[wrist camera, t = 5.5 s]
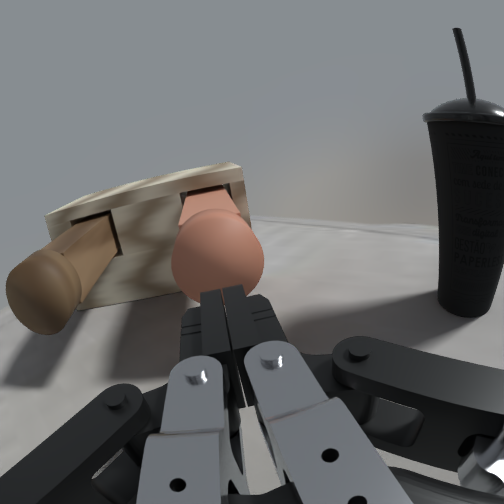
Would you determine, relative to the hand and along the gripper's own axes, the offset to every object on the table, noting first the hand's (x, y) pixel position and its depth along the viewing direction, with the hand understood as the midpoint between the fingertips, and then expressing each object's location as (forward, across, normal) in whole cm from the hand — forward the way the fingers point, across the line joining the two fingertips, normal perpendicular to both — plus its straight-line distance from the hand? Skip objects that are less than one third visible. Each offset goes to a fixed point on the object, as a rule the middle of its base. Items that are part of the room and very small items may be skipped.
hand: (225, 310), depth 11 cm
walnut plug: (+13, +11, +2) cm, 17 cm away
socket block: (+23, +6, +7) cm, 25 cm away
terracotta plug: (+13, 0, +2) cm, 13 cm away
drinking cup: (+4, -18, +7) cm, 19 cm away
